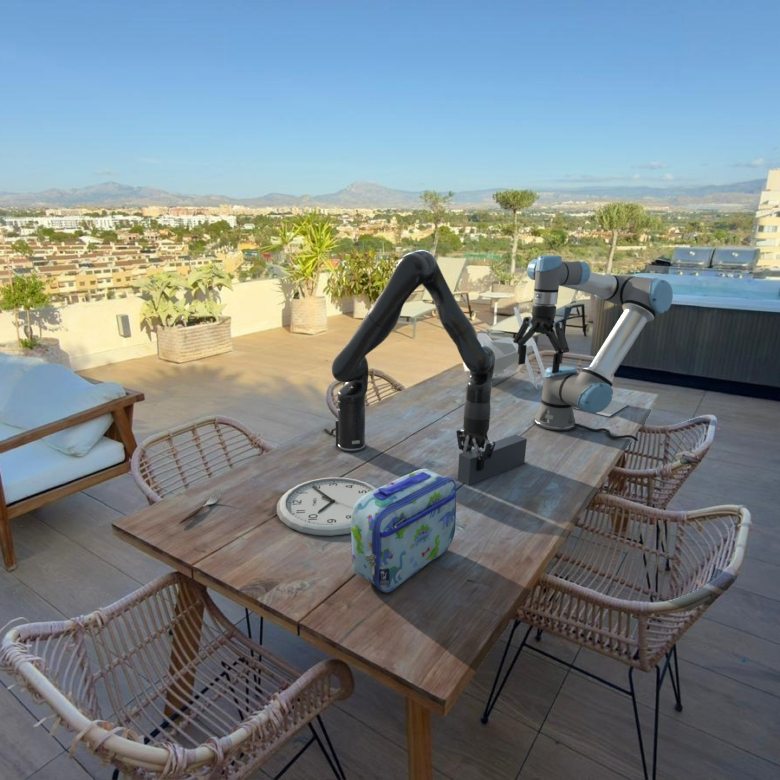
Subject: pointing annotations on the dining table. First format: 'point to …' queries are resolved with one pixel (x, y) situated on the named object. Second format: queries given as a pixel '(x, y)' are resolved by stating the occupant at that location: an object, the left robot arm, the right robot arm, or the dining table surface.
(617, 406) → the invitation card
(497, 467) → the bar
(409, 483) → the lunch box
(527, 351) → the white plastic object
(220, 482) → the dining table surface
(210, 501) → the fork
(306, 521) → the wall clock
